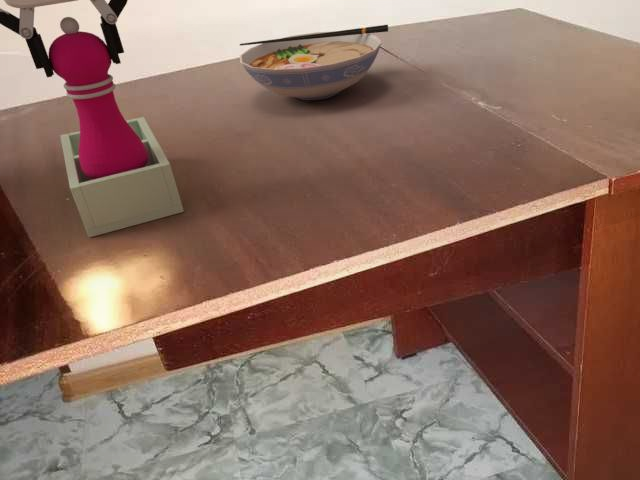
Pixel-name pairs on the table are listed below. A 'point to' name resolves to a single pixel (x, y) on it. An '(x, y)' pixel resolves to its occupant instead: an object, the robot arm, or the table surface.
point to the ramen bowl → (313, 61)
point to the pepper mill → (95, 103)
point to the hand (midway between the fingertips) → (83, 66)
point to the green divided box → (123, 187)
